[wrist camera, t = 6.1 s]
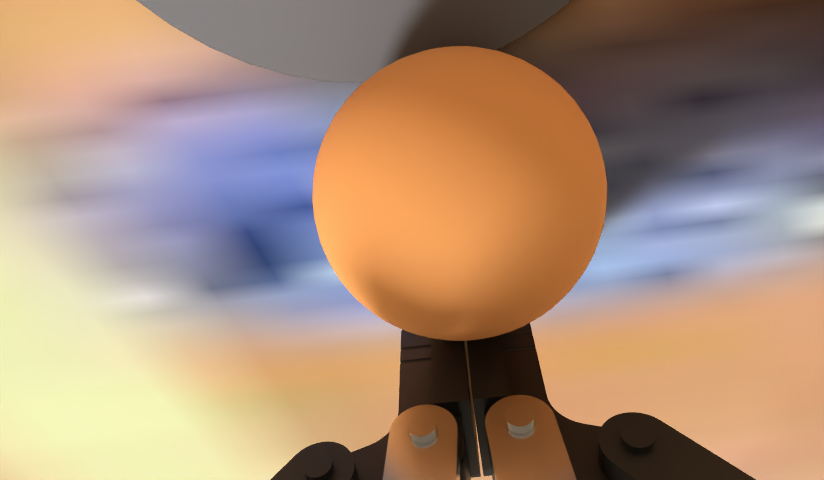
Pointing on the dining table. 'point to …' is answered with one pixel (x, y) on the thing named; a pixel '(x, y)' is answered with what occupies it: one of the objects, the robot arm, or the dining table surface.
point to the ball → (459, 193)
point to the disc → (348, 30)
